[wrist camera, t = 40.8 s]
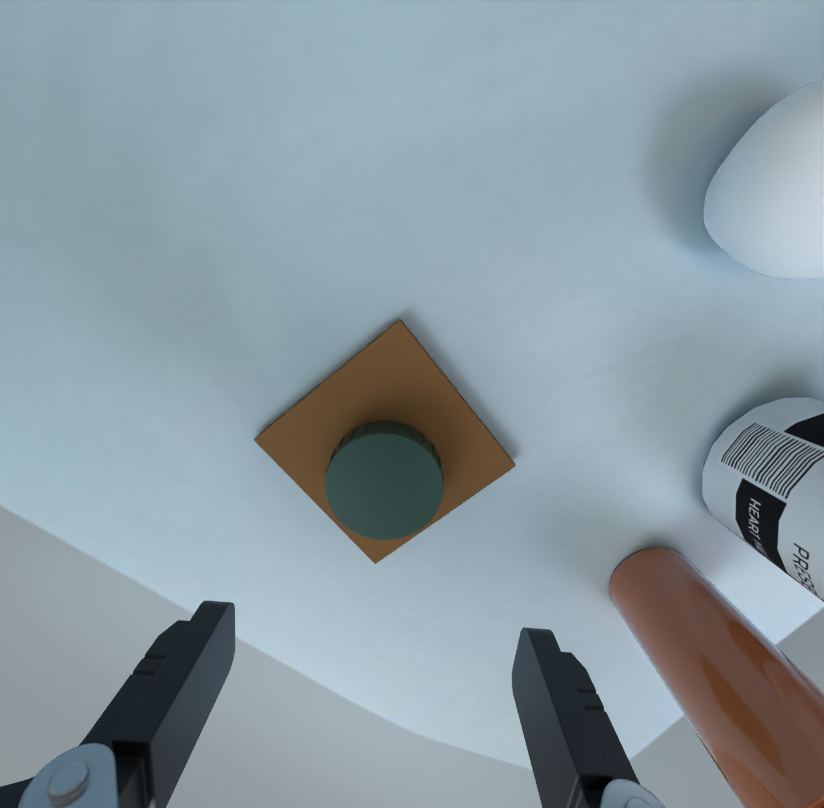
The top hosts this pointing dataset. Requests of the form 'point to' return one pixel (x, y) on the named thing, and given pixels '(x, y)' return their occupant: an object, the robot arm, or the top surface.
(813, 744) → the jar
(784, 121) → the plain white apple
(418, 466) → the lid
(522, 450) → the top surface
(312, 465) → the coaster
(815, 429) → the supplement can
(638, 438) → the top surface
